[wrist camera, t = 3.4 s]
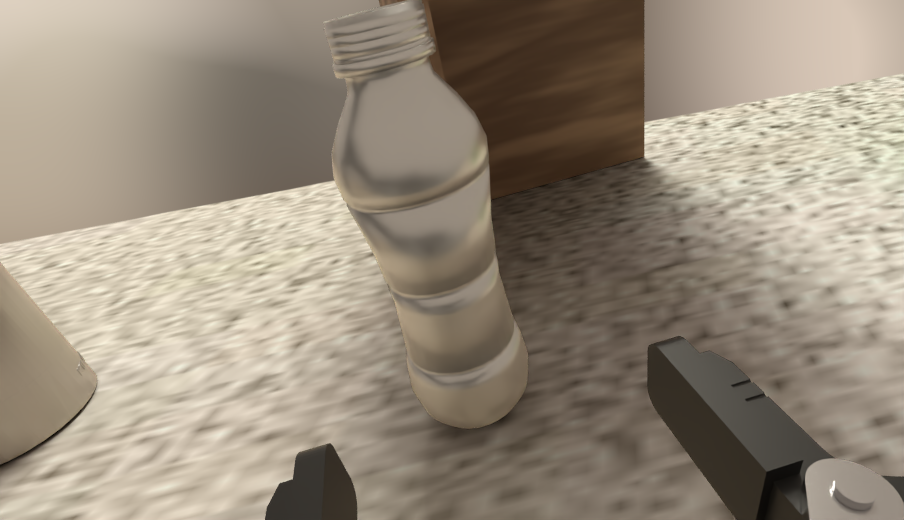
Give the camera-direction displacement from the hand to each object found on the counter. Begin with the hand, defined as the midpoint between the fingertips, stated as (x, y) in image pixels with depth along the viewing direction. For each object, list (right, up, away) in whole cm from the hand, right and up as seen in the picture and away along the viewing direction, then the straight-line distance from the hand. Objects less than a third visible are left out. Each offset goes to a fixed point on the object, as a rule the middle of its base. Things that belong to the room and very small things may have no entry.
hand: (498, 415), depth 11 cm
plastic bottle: (0, -4, +15) cm, 16 cm away
